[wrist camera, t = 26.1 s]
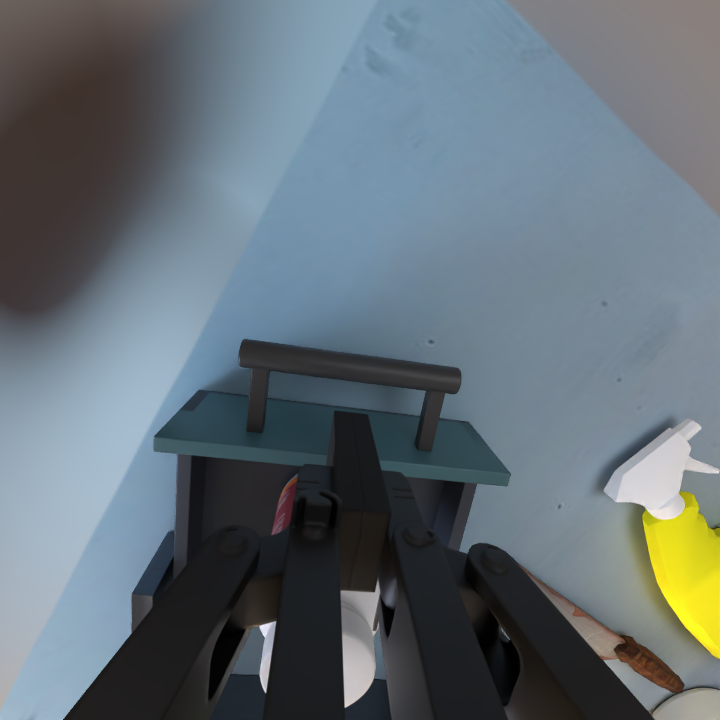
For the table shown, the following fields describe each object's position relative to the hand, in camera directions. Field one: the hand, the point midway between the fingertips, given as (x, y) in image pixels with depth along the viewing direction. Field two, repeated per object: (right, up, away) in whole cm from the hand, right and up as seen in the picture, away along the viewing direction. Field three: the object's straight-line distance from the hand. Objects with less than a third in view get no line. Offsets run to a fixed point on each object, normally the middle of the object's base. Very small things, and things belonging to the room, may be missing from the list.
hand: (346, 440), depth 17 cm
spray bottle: (+28, -11, +13) cm, 33 cm away
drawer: (-1, -4, +9) cm, 10 cm away
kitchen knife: (+19, -19, +15) cm, 31 cm away
